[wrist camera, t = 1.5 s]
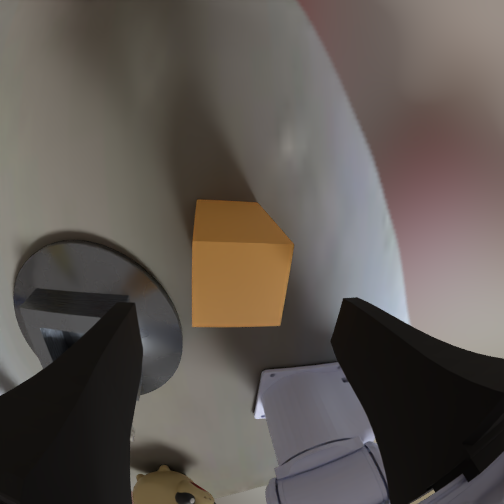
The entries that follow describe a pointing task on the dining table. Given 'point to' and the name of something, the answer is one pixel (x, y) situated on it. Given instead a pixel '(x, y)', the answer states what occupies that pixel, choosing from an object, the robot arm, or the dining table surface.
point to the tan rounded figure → (168, 489)
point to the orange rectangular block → (238, 265)
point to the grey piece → (94, 305)
